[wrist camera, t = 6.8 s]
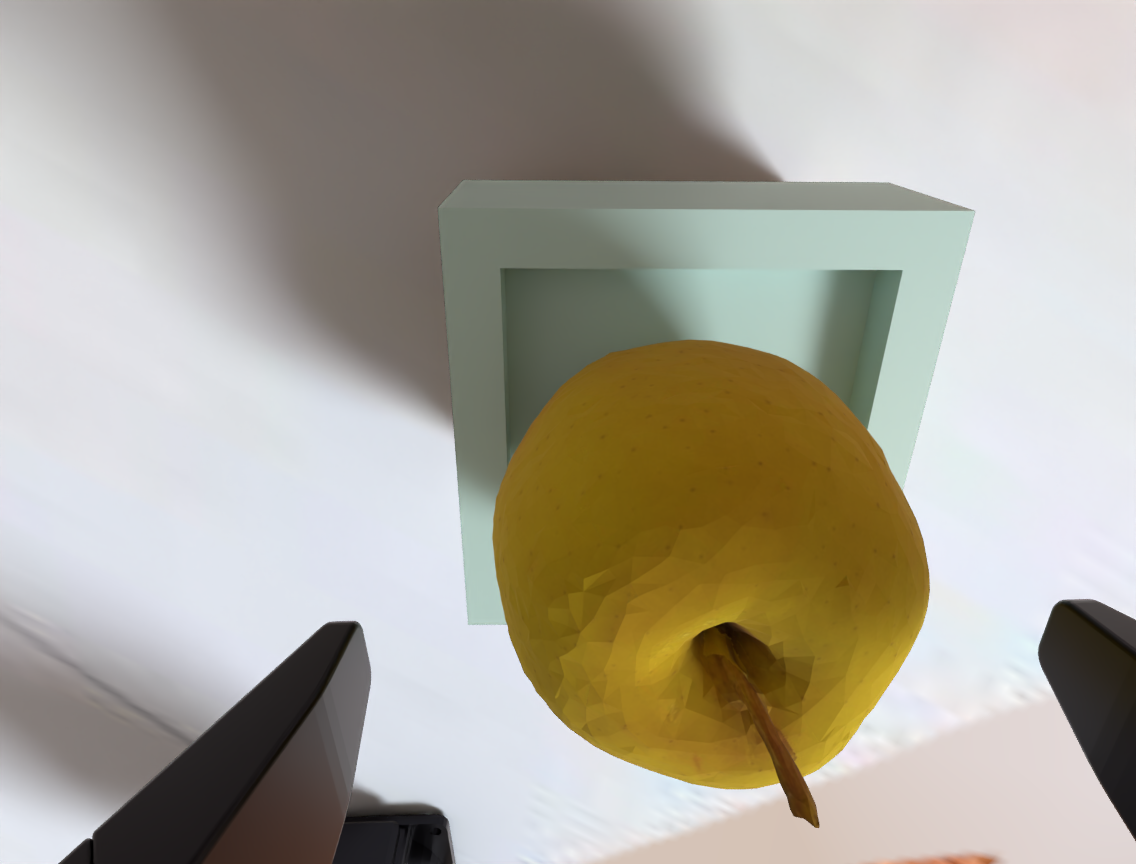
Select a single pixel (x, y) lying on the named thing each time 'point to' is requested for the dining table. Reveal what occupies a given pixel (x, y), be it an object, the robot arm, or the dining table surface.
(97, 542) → the dining table surface
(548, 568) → the apple
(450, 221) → the teal cap block
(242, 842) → the robot arm
